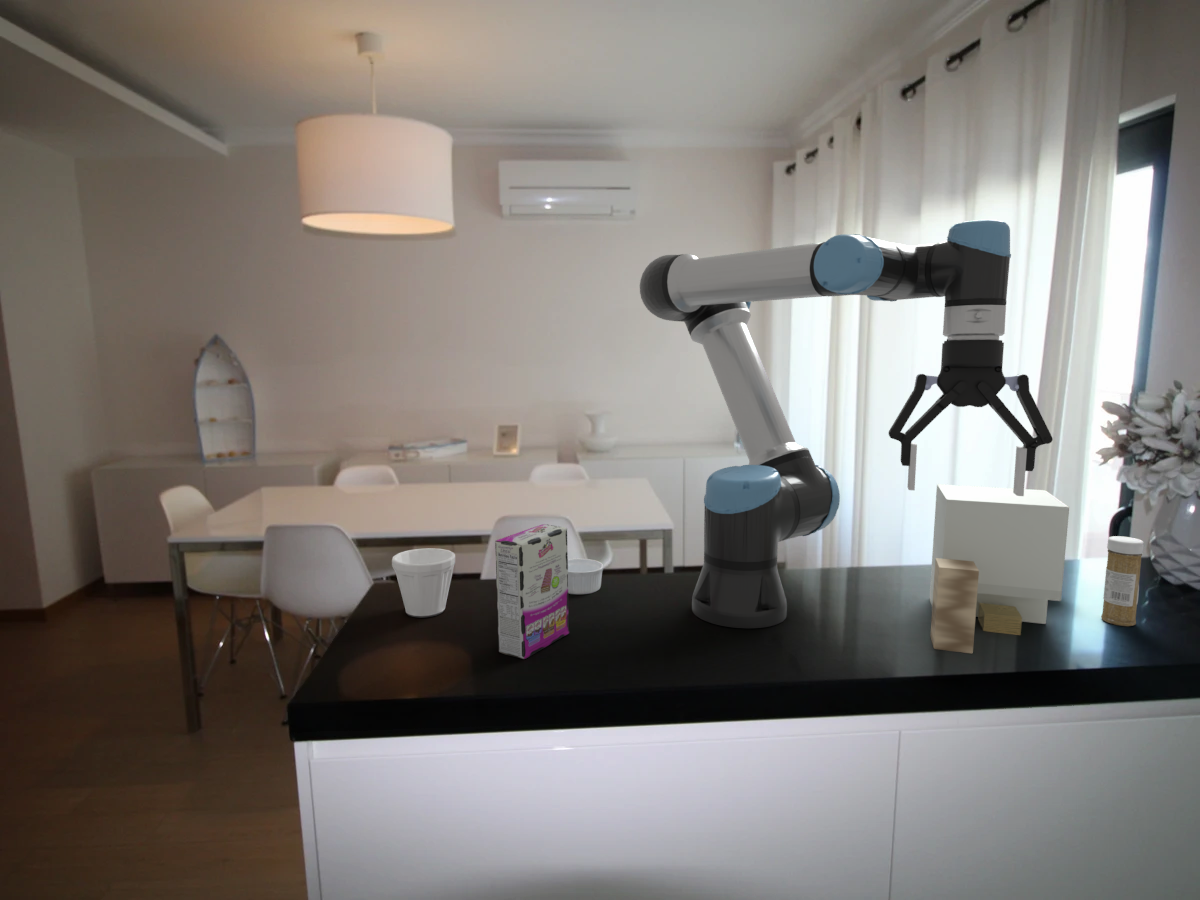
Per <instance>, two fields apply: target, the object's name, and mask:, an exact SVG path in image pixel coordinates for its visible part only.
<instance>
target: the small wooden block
mask: <svg viewBox="0 0 1200 900" xmlns="http://www.w3.org/2000/svg"><path fill="white" fill-rule="evenodd" d="M978 622H979V625H980V627H981V629H982V631H983V632H989V633H996V634H997V633H998V634H1005V635H1006V634H1007V635H1016V636H1021V635H1022V633H1021V632H1022V623H1023V622H1022V617H1021V615H1020V613H1019V612H1018V610H1017V609H1016V607H1014V606H1004V605H995V604H985V603H980V604H979V616H978Z"/></svg>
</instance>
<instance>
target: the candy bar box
mask: <svg viewBox="0 0 1200 900" xmlns="http://www.w3.org/2000/svg"><path fill="white" fill-rule="evenodd" d="M494 543H495V546H494V547H495V548H494V549H495V571H496V572H495V574H496V578H495V579H496V594H497V595H496V598H497V600H496V602H497V603H496V604H497V607H496V609H497V634H498V635H497V636H498V637H497V638H498V652H499V653H501V654H503V655H506V656H511V657H514V658H518V659H522V660H525V659H527V658H529V657H531V656H533V655H534V654H536V653H538V652H539V651H541V650H543V649H545V648H547V647H548V646H550V645H553V643H555V642H557V641H558V640H561V639H562V638H563V637H566V636H567V635H569V634H570V626H569V625H570V623H569V622H570V619H569V618H570V617H569V610H570V609H569V593H568V559H569V558H568V528H567V527H563V526H559V525H558V526H557V525H550V524H545V523H544V524H540V525H537V526H534V527H531V528H528V529H525V530H522V531H519V532H516V533H513V534H510V535H507V536H505V537H502V538H499V539H496V540H495V541H494Z"/></svg>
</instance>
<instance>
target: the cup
mask: <svg viewBox="0 0 1200 900" xmlns="http://www.w3.org/2000/svg"><path fill="white" fill-rule="evenodd" d="M455 565H456V553H455V552H453V551H451V550H449V549H443V548H434V547H433V548H432V547H431V548H430V547H429V548H428V547H427V548H415V549H409V550H404V551H401V552H398V553H396V554H395V555H393V556H392V559H391V567H392V568H393V570H394V572H395V575H396V578H397V582H398V586H399V591H400V593H401V597H402V598H401V599H402V601H403V606H404V608H405V613H406V615H407V616H409V617H413V618H418V619H419V618H421V619H422V618H423V619H424V618H432V617H436V616H438V615H441V614H442V613H443V612H444V611H445V609H446V605H447V599H448V596H449V592H450V591H449V590H450V586H451V583H452V577H453V572H454V566H455Z"/></svg>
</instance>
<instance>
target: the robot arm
mask: <svg viewBox="0 0 1200 900" xmlns="http://www.w3.org/2000/svg"><path fill="white" fill-rule="evenodd" d="M946 238H947V239H946V240H944V241H941V242H936V243H935V242H934V243H933V242H932V243H926V244H918V245H913V244H912V245H906V244H902V243H897V242H890V241H886V240H881V239H879V238H878V239H877V238H872V237H869V236H865V235H862V234H856V233H855V234H854V233H853V234H852V233H851V234H850V233H849V234H848V233H847V234H846V233H844V234H836V235H834V236H832V237H830V238H829V239H827V240H826V241H820V242H814V243H806V244H796V245H790V246H784V247H775V248H768V249H761V250H752V251H746V252H745V251H744V252H738V253H729V254H723V255H715V256H708V257H697V256H696V255H693V254H691V253H682V254H666V255H665V254H664V255H661V256H659V257H657V258H655V259H654V260H652V261H651V262H650V263H649V264H648V265H647V266H646V267H645V269H644V270H643V273H642V275H641V277H640V280H639V281H640V282H639V294H640V299H641V302H642V303H643V305H644V307H645V308H646V309H647V310H648V311H649V313H651V314H652V315H654V316H655V317H657V318H659V319H661V320H665V321H668V322H669V321H670V322H684V324H685V326H686V328H687V331H688V334H689V336H690V339H691V340H692V342H695V343H698V344H699V345H702V346H703V349H704V351H705V354H706V356H707V359H708V362H709V363H710V366H711V367H710V368H711V369H712V371H713V374H714V376H715V379H716V381H717V384H718V386H719V388H720V392H721V394H722V396H723V399H724V401H725V403H726V406H727V408H728V412H729V413H730V416H731V419H732V421H733V424H734V426H735V428H736V431H737V434H738V436H739V439H740V441H741V444H742V446H743V448H744V450H745V453H746V456H747V459H748V460H749V463H748V464H744V465H733V466H728V467H724V468H721V469H718V470H716V471H714V472H712V473H711V474H710V475H709V476H708V477H707V480H706V484H705V494H704V497H703V505H704V519H703V520H704V524H703V525H704V527H703V530H704V533H703V534H704V536H703V537H704V538H703V564H702V565H703V566H702V567H701V570H700V574H699V576H698V578H697V579H698V580H697V582H696V584H695V587H694V590H693V593H692V597H691V599H692V600H691V611H692V613H693V614H694V616H695V617H697V618H698V619H701V620H703V621H705V622H706V623H707V622H708V623H711V624H714V625H716V626H717V625H718V626H721V627H727V628H736V629H763V628H768V627H773V626H776V625H778V624H782V622H784V621H785V620H786V618H787V615H788V603H787V601H788V600H787V598H786V594H785V591H784V588H783V585H782V584H783V583H782V581H781V578H780V574H779V570H778V549H779V542H783V541H787V540H790V539H794V538H797V537H806V536H807V537H808V536H810V535H812V534H814V533H816V532H818V531H821V530H823V529H825V528H826V527H827V526H829V525H830V524H831V523H832V522H833V520H834V519H835V517H836V514H837V512H838V509H839V507H840V501H841V495H840V489H839V485H838V483H837V480H836V479H835V476H833V474H832V473H831V472H830V470H828V469H825V468H823V467H822V466H820V465H817V464H815V462H814V459H813V457H812V454H811V451H810V450H809V448H807V447H805V446H802V445H800V444H798V443H797V442H796V440H795V438H794V436H793V435H794V434H793V433H792V431H791V429H790V426H789V423H788V421H787V418H786V416H785V414H784V412H783V410H782V407H781V404H780V402H779V399H778V398H777V395H776V392H775V390H774V388H773V386H772V383H771V380H770V379H769V376H768V373H767V371H766V369H765V366H764V365H763V361H762V359H761V357H760V355H759V353H758V349H757V348H756V345H755V343H754V340H753V338H752V336H751V334H750V331H749V329H748V326H747V324H748V322H749V321H750V318H751V311H750V307H751V304H752V302H753V303H754V302H763V301H764V302H765V301H766V302H767V301H777V300H778V301H779V300H780V301H781V300H791V299H792V300H793V299H804V298H805V299H806V298H807V299H808V298H819V297H820V298H822V297H840V296H841V297H842V296H866V297H867V298H868V299H869V300H871V301H875V302H876V301H877V302H879V301H883V302H896V301H901V300H913V299H924V298H942V297H944V309H943V311H944V312H943V314H944V315H943V326H942V328H943V329H942V335H943V337H947V338H946V340H944V341H943V343H942V345H941V346H942V347H941V365H940V372H939V374H938V375H937V376H935V375H928V374H924V373H919V374H917V375H916V377H915V380H914V381H915V382H914V386H913V387H914V388H913V391H912V392H911V394H910V395H909V397H908V398H907V400H906V402H905V404H904V405H903V407H902V409H901V410H900V412H899V414H898V415H897V417H896V418H895V420H894V421H893V423H892V425H891V427H890V429H889V430H888V437H889V438H890V439H893V440H896V441H898V442H900V444H901V447H900V463H901V465H902V466H903V467H908V470H907V471H908V473H907V489H908V491H915V488H916V487H915V486H916V471H917V469H916V467H917V450H918V444H917V443H916V442H913V440H915V439H916V438H917V437H918V436H919V434H921V432H923V431H924V430H925V429H926V427H928V426H929V425H930V424H931V423H932V422H933V421H934V420H935V419H936V418H937V417H938V416H939V415H940V414H941V413H942V412H943V411H945V409H947V408H948V407H949V405H953V406H955V407H957V408H965V407H968V406H971V407H974V408H983V407H985V406H989V407H990V408H991V409H992V410H993V411H994V412H995V413H996V415H997V416H998V417H1000V419H1001V420H1002V421H1003V422H1004V423H1005V424H1006V426H1007V427H1008V428H1009V429H1010V430H1011V432H1012V433H1013V434H1014V435H1015V437H1017V438H1018V440H1019V441H1020V442H1021V443H1022V444H1023V446H1022V445H1020V446H1018V445H1017V446H1016V449H1015V465H1014V476H1013V477H1014V478H1013V488H1014V489H1013V493H1014V494H1016V495H1017V496H1024V489H1025V484H1026V483H1025V482H1026V472H1033V471H1034V469H1035V463H1036V462H1035V461H1036V451H1037V448H1038V447H1040V446H1042V445H1045V444H1046V445H1047V444H1050V443H1052V441H1053V437H1052V434H1051V432H1050V430H1049V428H1048V426H1047V424H1046V422H1045V419H1044V418H1043V416H1042V414H1041V411H1040V410H1039V407H1038V406H1037V403H1036V402H1035V401H1036V400H1034V398H1033V396H1032V394H1031V391H1030V379H1029V376H1028V375H1027V374H1022V373H1021V374H1020V373H1019V374H1017V375H1012V376H1011V375H1010V376H1005V375H1004V372H1003V364H1004V363H1003V362H1004V361H1003V360H1004V348H1005V347H1004V346H1005V342H1003V340H1002V339H1000V337H1001V336H1004V335H1005V334H1006V333H1005V330H1006V315H1007V314H1006V311H1007V298H1008V297H1007V295H1008V284H1009V283H1008V282H1009V272H1010V261H1011V260H1010V259H1011V257H1012V254H1011V228H1010V226H1009V224H1008V223H1007V222H1005V221H1002V220H999V219H978V220H975V219H974V220H966V221H963V222H958V223H955V224H953V225H951V226H950V228H949V229H948V235H947V237H946ZM935 384H936V386H937V387H938V388H939V390H940V391H941V392H942V395H940V396H939V397H938V399H937V400H936V401H935V402H934V403H933V404H932V405H931V406H930V408H928V409H927V410H926V411H925V412H924V413H923V414H922V415H921V416H920V417H919V418H918V419H917V420H916V421H915V422H914V423H913V425H911V426H910V427H909V428H908V429H907V430H906V431H905V432H903V431H902V430H903V429H904V427H905V425H906V424H907V422H908V421H909V419H910V418H911V415H912V414H913V412H914V411H915V408H916V407H917V405H918V404H919V402H920V400H921V398H922V397H923V395H924V393H925V391H929V390H931V388H932V386H933V385H935ZM1006 385H1007V386H1008V387H1009V389H1010V390H1011V391H1013V392H1015V393H1016V396H1017V399H1018V400H1019V402H1020V405H1021V407H1022V409H1023V410H1024V413H1025V415H1026V417H1027V419H1028V421H1029V423H1030V425H1031V427H1032V429H1033V431H1034V433H1035V435H1032V434H1030V432H1029V431H1028V430H1027V429H1026V428H1025V426H1023V424H1022V423H1021V422H1020V421H1019V419H1018V418H1016V417H1015V415H1014V414H1013V413H1012V412H1011V411H1010V409H1009V408H1008V407H1007V405H1005V403H1004V402H1003V401H1002V400H1001V399H1000V398H999V396H998V394H999V393H1000V392H1001V390H1002V389H1003V388H1004V387H1005V386H1006Z"/></svg>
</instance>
